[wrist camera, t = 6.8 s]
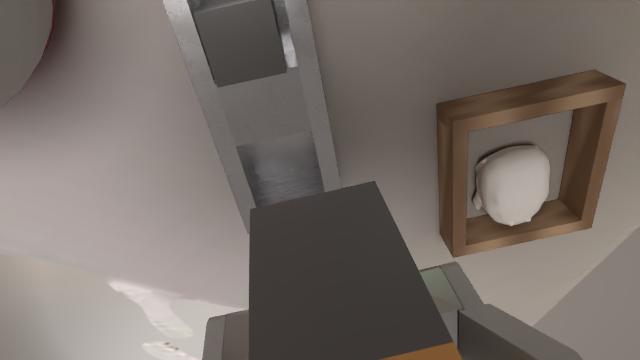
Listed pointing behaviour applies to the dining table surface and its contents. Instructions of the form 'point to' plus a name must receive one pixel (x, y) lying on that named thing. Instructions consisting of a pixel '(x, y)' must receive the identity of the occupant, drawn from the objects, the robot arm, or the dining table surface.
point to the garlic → (512, 184)
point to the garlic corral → (579, 170)
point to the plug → (338, 283)
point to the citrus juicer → (22, 41)
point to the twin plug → (240, 39)
